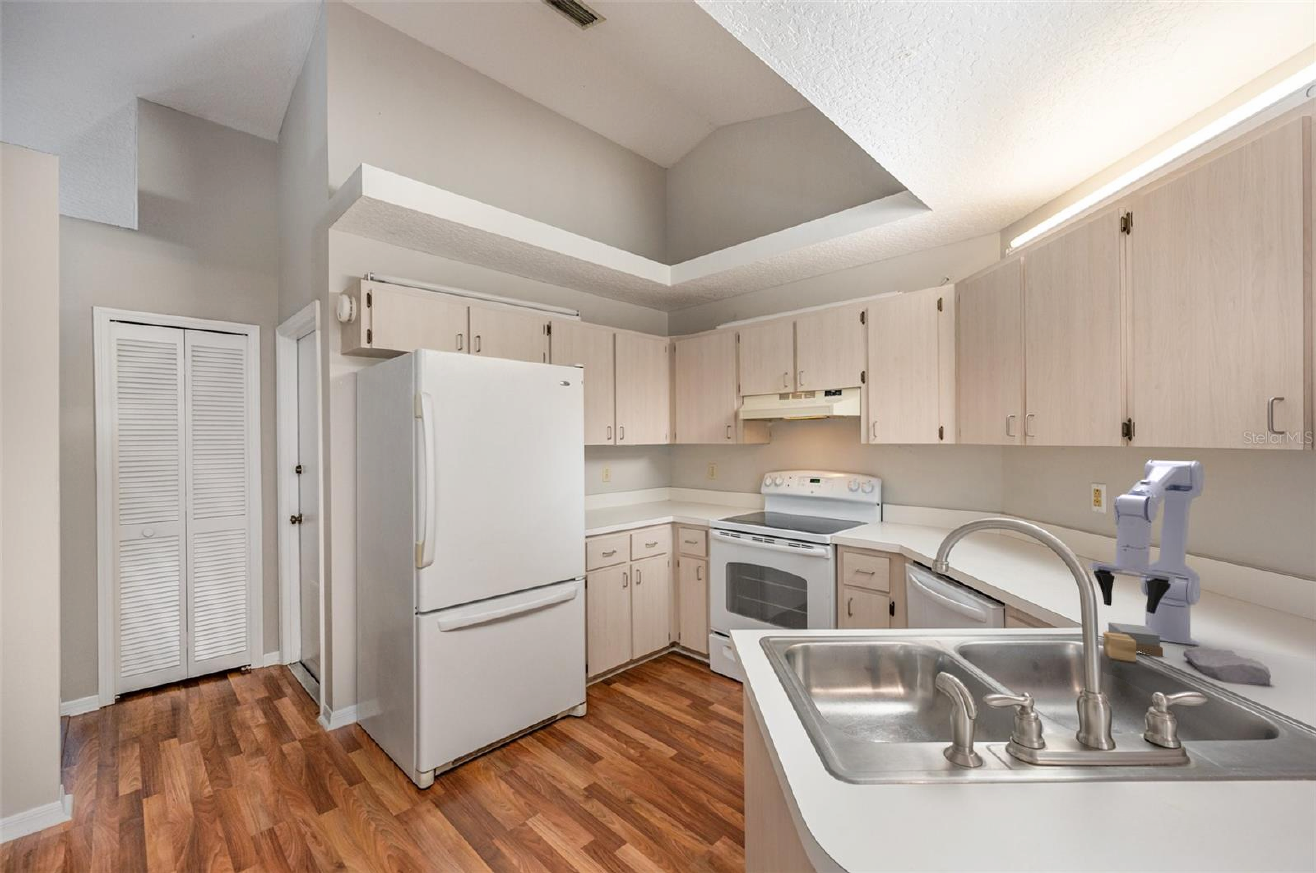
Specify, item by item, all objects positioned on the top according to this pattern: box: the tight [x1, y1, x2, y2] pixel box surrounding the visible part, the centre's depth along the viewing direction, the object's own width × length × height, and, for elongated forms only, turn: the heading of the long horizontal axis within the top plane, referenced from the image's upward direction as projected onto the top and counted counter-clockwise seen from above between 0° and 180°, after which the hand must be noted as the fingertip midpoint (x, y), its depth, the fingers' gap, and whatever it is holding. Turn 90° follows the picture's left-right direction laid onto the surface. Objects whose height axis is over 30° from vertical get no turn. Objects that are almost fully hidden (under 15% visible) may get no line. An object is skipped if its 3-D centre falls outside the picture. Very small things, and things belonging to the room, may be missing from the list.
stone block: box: [1182, 646, 1271, 686], centre depth 113 cm, size 12×5×10 cm
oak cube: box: [1102, 631, 1137, 662], centre depth 121 cm, size 4×4×4 cm
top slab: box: [1107, 621, 1161, 647], centre depth 126 cm, size 7×7×2 cm
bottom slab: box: [1105, 631, 1164, 657], centre depth 126 cm, size 8×8×2 cm
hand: (1128, 609), depth 119 cm, fingers open, 7 cm apart
